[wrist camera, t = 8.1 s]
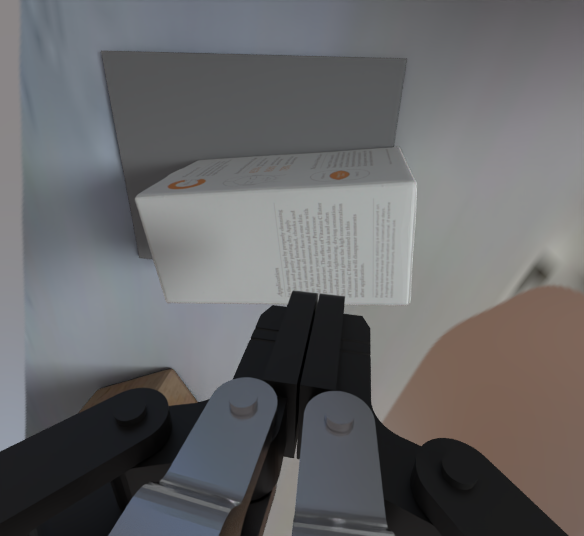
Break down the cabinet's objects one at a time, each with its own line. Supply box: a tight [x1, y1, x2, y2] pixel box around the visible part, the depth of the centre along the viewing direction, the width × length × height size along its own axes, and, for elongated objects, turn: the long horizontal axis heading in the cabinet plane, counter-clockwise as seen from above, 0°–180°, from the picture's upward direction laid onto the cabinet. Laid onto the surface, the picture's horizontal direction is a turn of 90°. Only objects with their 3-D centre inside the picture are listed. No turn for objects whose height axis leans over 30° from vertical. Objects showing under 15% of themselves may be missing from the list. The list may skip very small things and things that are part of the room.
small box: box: [135, 147, 417, 306], centre depth 21 cm, size 8×6×13 cm
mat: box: [101, 51, 407, 259], centre depth 25 cm, size 18×14×1 cm
